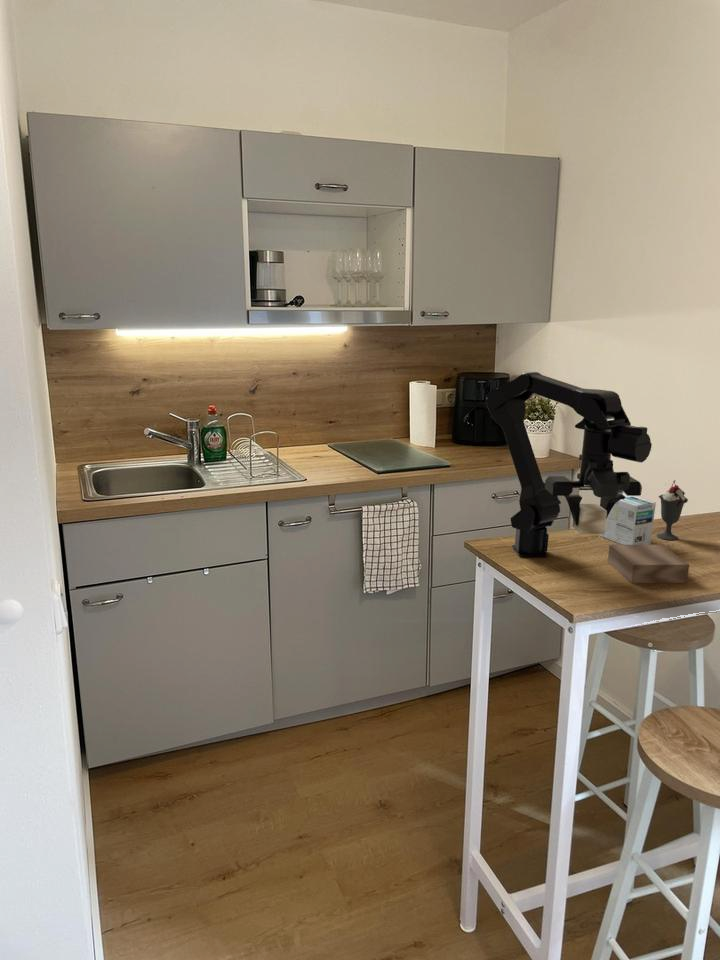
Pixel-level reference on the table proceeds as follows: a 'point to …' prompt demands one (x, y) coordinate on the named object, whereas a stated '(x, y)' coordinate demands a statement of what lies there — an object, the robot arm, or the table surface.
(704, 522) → the table surface
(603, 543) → the table surface
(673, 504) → the sundae
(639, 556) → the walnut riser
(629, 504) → the light bulb box
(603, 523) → the maple cube
